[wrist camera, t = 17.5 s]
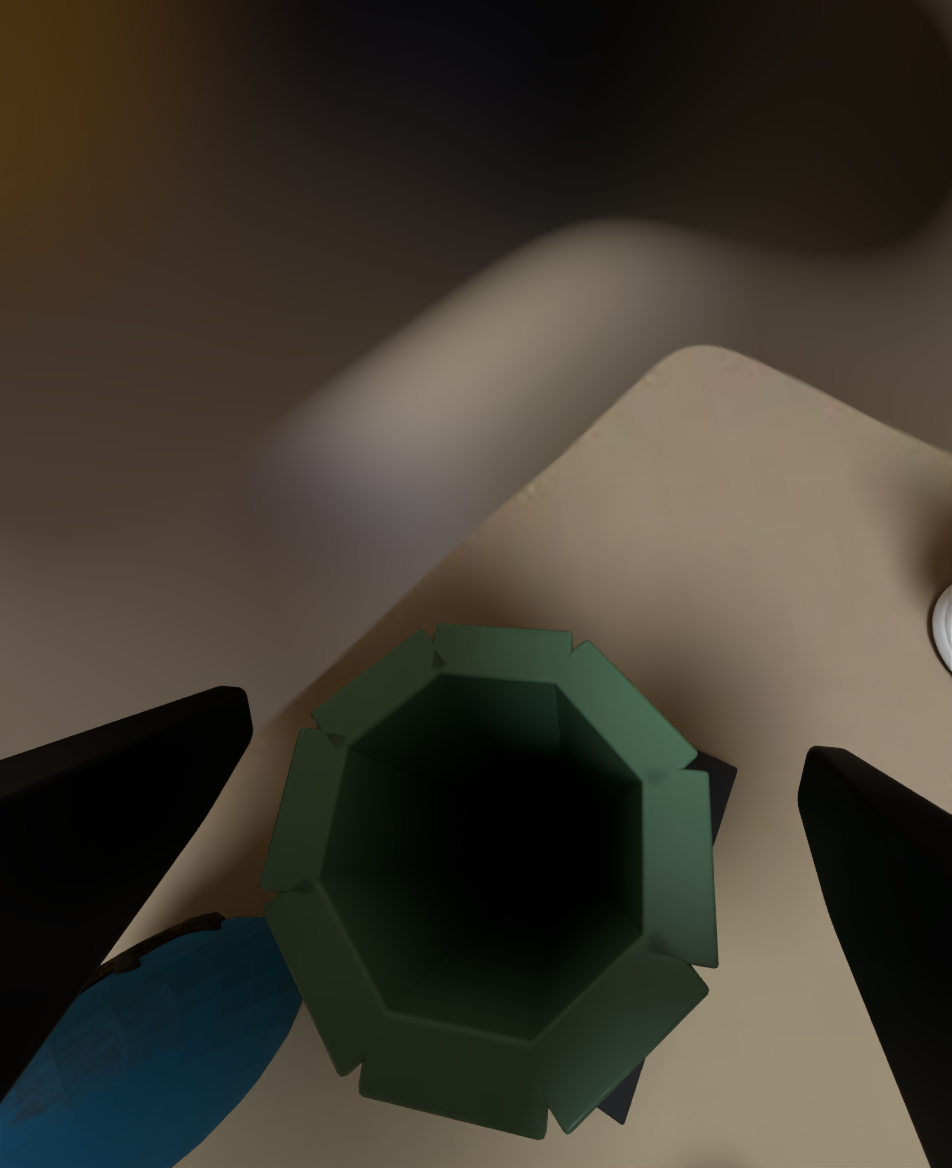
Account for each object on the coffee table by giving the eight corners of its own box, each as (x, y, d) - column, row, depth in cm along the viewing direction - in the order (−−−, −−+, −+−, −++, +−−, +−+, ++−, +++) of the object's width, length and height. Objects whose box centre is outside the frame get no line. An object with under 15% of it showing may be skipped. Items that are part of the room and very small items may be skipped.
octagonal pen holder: (672, 858, 16) (823, 878, 7) (517, 1004, 16) (428, 1281, 6) (540, 703, 19) (510, 557, 9) (401, 820, 18) (204, 792, 8)
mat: (621, 1118, 14) (623, 1127, 14) (330, 912, 18) (324, 913, 17) (734, 770, 18) (738, 768, 17) (470, 649, 21) (468, 645, 21)
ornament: (303, 856, 19) (60, 867, 10) (376, 986, 17) (154, 1147, 8) (91, 1040, 17) (-417, 1248, 8) (144, 1204, 15) (-451, 1708, 6)
